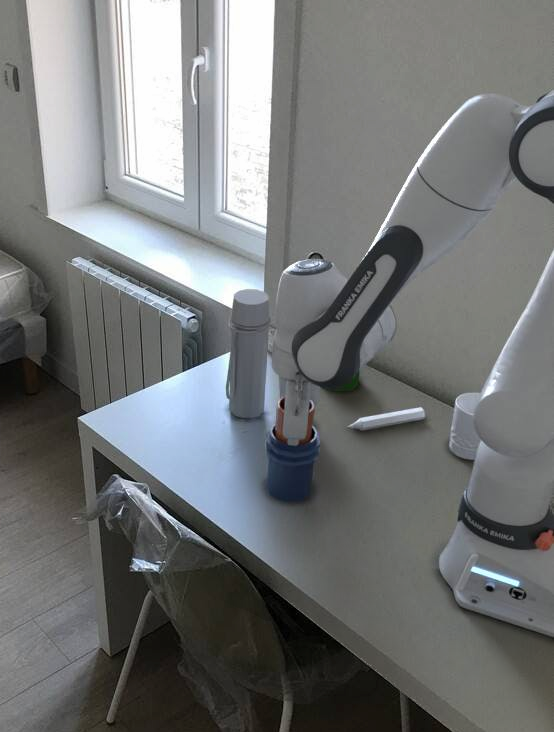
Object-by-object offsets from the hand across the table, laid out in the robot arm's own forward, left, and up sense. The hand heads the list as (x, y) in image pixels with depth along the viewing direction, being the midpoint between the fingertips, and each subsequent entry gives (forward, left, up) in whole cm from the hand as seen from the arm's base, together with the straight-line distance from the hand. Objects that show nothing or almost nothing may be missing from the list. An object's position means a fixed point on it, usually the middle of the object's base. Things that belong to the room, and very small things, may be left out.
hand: (293, 429), depth 142 cm
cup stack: (0, 0, -12) cm, 12 cm away
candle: (+11, -37, -13) cm, 41 cm away
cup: (+9, -17, -13) cm, 23 cm away
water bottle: (+20, -15, -13) cm, 28 cm away
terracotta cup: (0, 0, -5) cm, 5 cm away
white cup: (-20, -30, -13) cm, 38 cm away
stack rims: (0, 0, -4) cm, 4 cm away
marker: (-4, -28, -13) cm, 31 cm away
